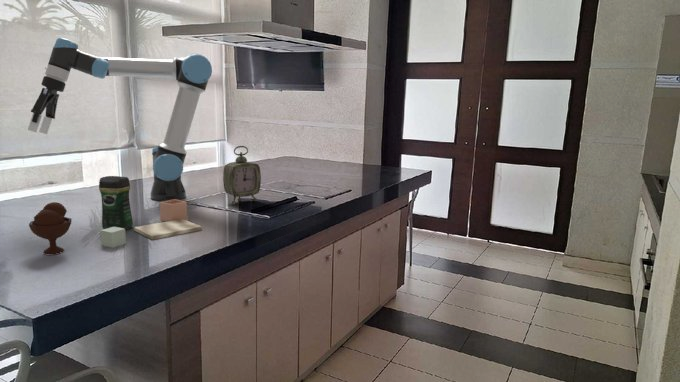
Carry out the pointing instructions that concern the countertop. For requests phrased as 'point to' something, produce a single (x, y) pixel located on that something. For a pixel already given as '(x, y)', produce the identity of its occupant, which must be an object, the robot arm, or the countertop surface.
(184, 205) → the terracotta cup
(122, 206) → the coffee jar
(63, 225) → the ice cream bowl
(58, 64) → the robot arm
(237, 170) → the tabletop clock
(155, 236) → the birch board
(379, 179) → the countertop surface
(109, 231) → the grey-green block
